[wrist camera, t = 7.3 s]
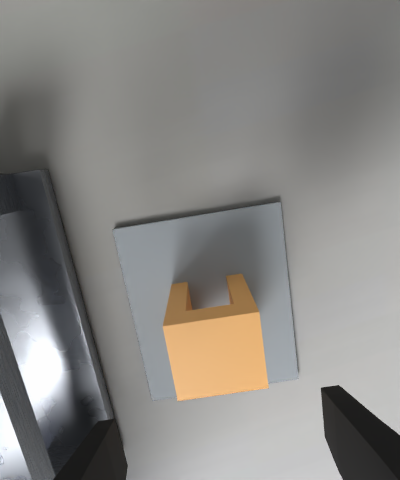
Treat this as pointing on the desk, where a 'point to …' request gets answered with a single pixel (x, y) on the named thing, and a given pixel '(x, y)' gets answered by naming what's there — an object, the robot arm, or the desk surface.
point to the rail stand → (42, 337)
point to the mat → (208, 280)
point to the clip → (215, 343)
